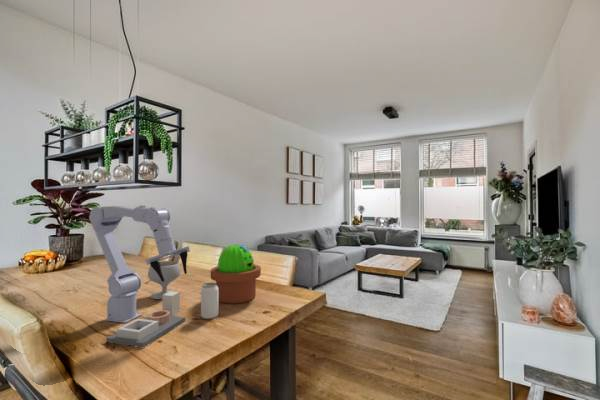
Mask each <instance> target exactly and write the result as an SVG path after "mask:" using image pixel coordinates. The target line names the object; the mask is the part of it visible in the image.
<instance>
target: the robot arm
mask: <svg viewBox="0 0 600 400" xmlns="http://www.w3.org/2000/svg"><path fill="white" fill-rule="evenodd" d="M124 217H126V218H127V217H128V218H131V219H132V220H133V221H135V222H138V223H143V224H147V225H148V226H149V228H150V230H151V231H152V234H153V237H154V241H155V245H156V248H157V251H158V255H154V256H152V257H148V258H146V259H145V263H146V265H149V267H150V266H151V267H152V268H153V269H154V270H155V271H156V272H157V274H158V275H159V277H160V279H161V281H162V282H163V281H164V277H163V274H162V271H161V267H160V262H162V261H163V260H167V259H169V258H170V259H171V258H173V257H176V256H180V258H179V259H180V261H181V264H182V267H183V268H182V269H183V273H184V275H186V274H188V272H187V271H188V270H187V260H188V252H191V250H190V246H184V247H180V248H178V249H177V248H176V245H175V242H174V237H173V234H172V231H171V228H170V227H171V226H170V224H169V222H170V220H171V213H170V212H169V210H167V209H165V208H156V207H154V206H151V207H148V206H147V207H146V205H144V204H141V205H138V206H136V207H134V208H132V207H128V206H123V205H114V206H113V205H112V206H93V208H92V209H91V210H90V213H89V216H88V218H89V221H90V223H91V226H92V229H93V231H94V232H95V236H96V238H97V241H98V244H99V245H100V248H101V250H102V253H103V256H104V257H105V260H106V262H107V265H108V268H109V270H110V272H111V274H110V275H109V276H108V278H107V280H106V282H107V285H108V292H109V294H110V296H109V298H108V299H107V303H106V307H107V308H106V314H107V315H106V318H104V319H105V321H108V322H115V323H122V324H126V323H129V322H130V321H133V320H134V319H136V318H139V317H140V316H142V314H143V313H142V312H141V313H139V312H137V294H138V293H139V289H141V287H142V279H141V277H140V276H139V275H138V274H137V272H136V270H135V269H133V268H130V267H129V266H128V265H127V262H126V261H125V258H124V256H123V253H122V250H121V248H120V246H119V244H118V241H117V239H116V237H115V235H114V230H115V229H117V228H118V226H119V224H120V223H121V221H122V219H123V218H124Z"/></svg>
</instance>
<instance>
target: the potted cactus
mask: <svg viewBox="0 0 600 400" xmlns="http://www.w3.org/2000/svg"><path fill="white" fill-rule="evenodd" d="M218 257H219V258H218V259H217V260H218V262H217V266H214V267H212V268H211V269H210V279H211V280H212V281H215V283H216V284H217V286H218V302H220V303H222V304H230V305H231V304H234V305H235V304H242V303H247V302H249V301H251V300H254V298H255V297H256V295H257V292H256V291H257V287H256V286H257V285H256V283H257V280H256V279H258V278H259V277H261V275H262V269H261V265H258V264H256V263H254V261H255V259H254V256H253V255H252V252H251V250H250V249H249V247H247V246H245V244H243V243H242V244H239V243H237V244H230V245H229V246H228V247H225V248H224V249H223V251H221V252H220V255H219V256H218Z"/></svg>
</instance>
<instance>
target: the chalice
mask: <svg viewBox="0 0 600 400" xmlns="http://www.w3.org/2000/svg"><path fill="white" fill-rule="evenodd" d="M159 262H160V267H161V271H162V274H163V277H164V281H163V282H162V281H161V279H160V277H159V275H158V274H157V272H156V271H155V270H154V269H153V268H152V267H151V266H150V265H149V268H148V271H147V278H148V279H149V280H150V282H153V283H156V284H158V285H160V286H161V288H162V290H161V291H157V292H153V293H151V295H150V299H152V300H162V295H164V294H166V293H168V292H178V291H177V290H173V289H172V290H168V285H169V284H171V283H173V281H175V280H177V279H178V278H179V277H180V275H181V272H182V271H181V266H180V264H179V262H177V261H175V260H174V261H173V260H171V261H170V260H169V261H168V260H167V261H159Z"/></svg>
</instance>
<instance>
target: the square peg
mask: <svg viewBox="0 0 600 400" xmlns="http://www.w3.org/2000/svg"><path fill="white" fill-rule="evenodd" d="M180 294H181V293H180V292H178V291H177V292H168V293H166V294H164V295H162V299H161V301H162V310H167V311H170V316H176V315H177V314H179V313H180V312H181V311H180V310H181V309H180V305H181V304H180V303H181V300H180V297H181V296H180Z"/></svg>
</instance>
